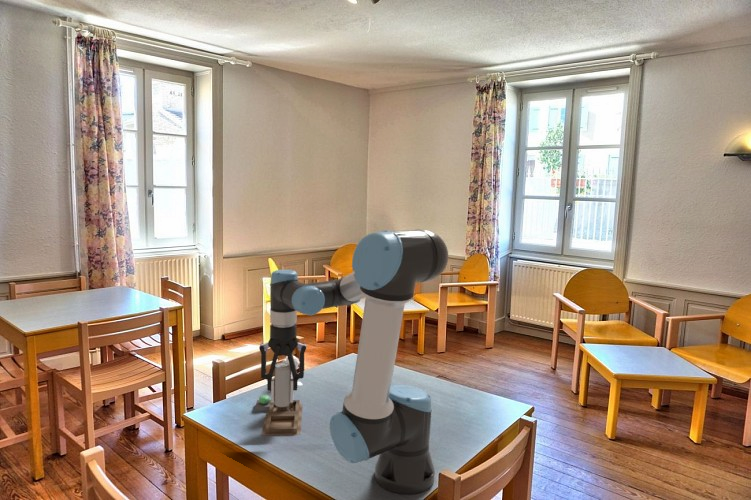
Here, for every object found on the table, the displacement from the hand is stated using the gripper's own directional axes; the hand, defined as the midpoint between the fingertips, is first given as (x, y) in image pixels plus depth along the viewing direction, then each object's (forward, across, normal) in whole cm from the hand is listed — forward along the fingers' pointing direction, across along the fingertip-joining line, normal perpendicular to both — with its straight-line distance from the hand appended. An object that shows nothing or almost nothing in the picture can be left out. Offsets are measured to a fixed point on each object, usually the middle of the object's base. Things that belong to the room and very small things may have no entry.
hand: (282, 400), depth 149 cm
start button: (+6, +6, -12) cm, 15 cm away
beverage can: (+1, 0, 0) cm, 1 cm away
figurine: (+10, -1, -31) cm, 32 cm away
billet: (+8, 0, -10) cm, 13 cm away
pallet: (+10, +2, -5) cm, 11 cm away
